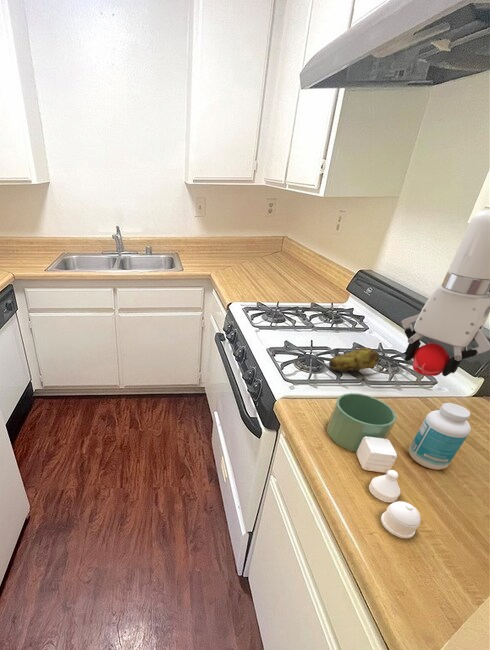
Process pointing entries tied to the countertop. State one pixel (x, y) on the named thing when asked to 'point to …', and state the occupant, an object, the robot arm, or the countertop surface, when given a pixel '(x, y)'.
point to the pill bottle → (440, 436)
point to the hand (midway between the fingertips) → (427, 365)
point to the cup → (359, 420)
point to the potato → (355, 360)
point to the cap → (430, 359)
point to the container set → (387, 486)
